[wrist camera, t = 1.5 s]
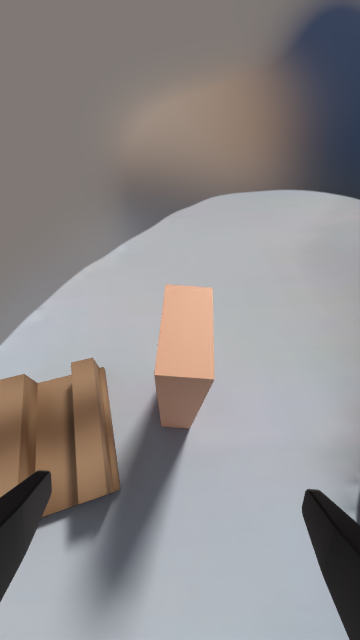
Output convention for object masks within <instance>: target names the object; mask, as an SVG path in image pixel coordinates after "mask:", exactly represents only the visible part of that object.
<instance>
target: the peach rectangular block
mask: <svg viewBox="0 0 360 640" xmlns="http://www.w3.org/2000/svg"><path fill="white" fill-rule="evenodd" d="M154 376H155V383H156V391H157V398H158V405H159V413H160V420H161V427H174V428H188V429H190V427H191V425H192V423H193V421H194V419H195V417H196V415H197V413H198V411H199V409H200V407H201V405H202V403H203V401H204V399H205V397H206V395H207V393H208V391H209V389H210V387H211V385H212V383H213V381H214V339H213V288H206V287H193V286H179V285H166V286H165V294H164V302H163V310H162V318H161V326H160V334H159V342H158V350H157V358H156V366H155V374H154Z"/></svg>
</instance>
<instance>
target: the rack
mask: <svg viewBox="0 0 360 640" xmlns="http://www.w3.org/2000/svg"><path fill="white" fill-rule="evenodd" d="M71 370H72V375H69V376H65V377H61V378H57V379H53V380H49V381H45V382H41V383H37V382H35V381H34V380H32V379H31V378H29V377H28V376H26V375H25V374H22V375H18V376H14V377H10V378H6V379H1V380H0V497H1V496H3V495H4V494H6V493H7V492H8V491H10V490H11V489H12V488H14V487H15V486H17V485H18V484H19V483H21V482H22V481H24V480H25V479H26V478H28V477H29V476H30V475H32V474H33V473H35V472H36V471H38V470H47V471H50V472H51V482H52V493H51V496H50V499H49V501H48V504H47V506H46V508H45V511H44V513H43V515H42V517H44V516H47V515H50V514H53V513H55V512H58V511H61V510H64V509H67V508H70V507H73V506H75V505H78V504H81V503H84V502H87V501H90V500H93V499H96V498H98V497H101V496H104V495H107V494H110V493H113V492H115V491H118V490H121V488H120V480H119V473H118V465H117V457H116V450H115V442H114V434H113V427H112V419H111V412H110V404H109V396H108V389H107V381H106V374H105V369H104V368H103V367H101V368H99V367H98V365H97V363H96V362H95V360H94V359H93V358H89V359H85V360H81V361H77V362H73V363H71Z"/></svg>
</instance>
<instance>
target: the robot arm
mask: <svg viewBox="0 0 360 640" xmlns="http://www.w3.org/2000/svg"><path fill="white" fill-rule="evenodd" d="M51 493H52V482H51V472H50V471H47V470H38V471H36V472H35V473H33V474H32V475H30V476H29V477H28V478H26V479H25V480H24V481H22V482H21V483H19V484H18V485H17V486H15V487H14V488H12V489H11V490H10V491H8V492H7V493H6V494H4V495H3V496H1V497H0V602H1V600H2V598H3V596H4V594H5V592H6V590H7V589H8V587H9V585H10V583H11V581H12V579H13V577H14V575H15V573H16V571H17V570H18V568H19V566H20V564H21V562H22V560H23V558H24V556H25V554H26V552H27V550H28V548H29V545H30V543H31V541H32V538H33V536H34V534H35V532H36V529H37V527H38V525H39V522H40V520H41V518H42V515H43V513H44V511H45V508H46V506H47V504H48V501H49V499H50V496H51ZM302 514H303V518H304V521H305V524H306V527H307V530H308V533H309V536H310V539H311V542H312V545H313V548H314V551H315V554H316V557H317V560H318V563H319V566H320V569H321V572H322V574H323V577H324V579H325V582H326V584H327V587H328V589H329V592H330V594H331V596H332V599H333V601H334V604H335V606H336V608H337V611H338V613H339V616H340V618H341V620H342V623H343V625H344V628H345V630H346V632H347V635H348V637H349V640H360V525H359V524H358V523H357V522H355V521H354V520H353V519H352V518H351V517H350V516H348V515H347V514H346V513H345V512H344V511H343V510H342V509H340V508H339V507H338V506H337V505H336V504H335V503H334V502H332V501H331V500H330V499H329V498H328V497H327V496H326V495H324V494H323V493H322V492H321V491H319V490H315V489H307V490H306V492H305V496H304V500H303V505H302Z"/></svg>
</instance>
